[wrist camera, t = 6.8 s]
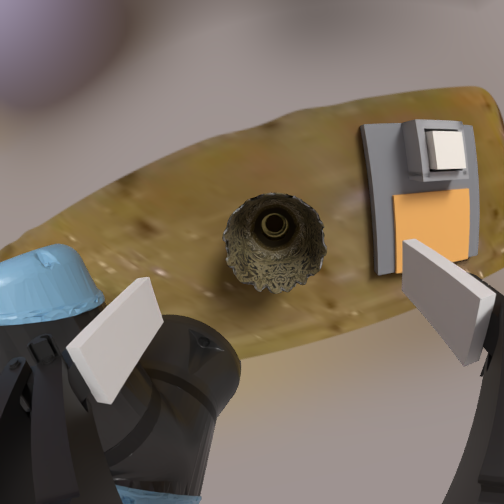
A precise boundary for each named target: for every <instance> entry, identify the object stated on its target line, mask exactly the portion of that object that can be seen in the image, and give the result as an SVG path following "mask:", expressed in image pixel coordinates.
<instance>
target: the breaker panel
mask: <svg viewBox="0 0 504 504" xmlns="http://www.w3.org/2000/svg"><path fill="white" fill-rule="evenodd" d="M360 129H361V134H362V140H363V146H364V153H365V159H366V167H367V174H368V183H369V192H370V201H371V213H372V226H373V243H374V271H375V272H376V273H377V275H383V274H388V273H394V272H396V273H402V241H403V240H409V239H417V240H418V241H420V242H421V243H423V244H425V245H426V246H428V247H429V248H431V249H433V250H434V251H436V252H437V253H439V254H440V255H442V256H443V257H445V258H446V259H448V260H449V261H451V262H456V261H460V260H464V259H468V257H471V256H475V255H478V240H479V182H478V167H477V157H476V148H475V140H474V133H473V127H472V126H470V125H463V124H462V122H460V121H444V120H412V121H408V122H404V123H387V124H364V125H361V126H360ZM428 131H455V132H462V137H463V145H464V153H465V162H466V168H460V169H429V160H428V152H427V145H426V138H425V132H428Z"/></svg>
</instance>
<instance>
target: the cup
mask: <svg viewBox="0 0 504 504" xmlns="http://www.w3.org/2000/svg"><path fill="white" fill-rule="evenodd" d="M273 215H277V216H279V217H280V218H281V219H282V221H283V227H282V228H281V229H280V230H279V231H277V232H272V231H270V230H269V229H268V228H267V226H266V221H267V219H268V218H269V217H270V216H273ZM323 228H324V225H323V223H322V221H321V220H320V218H319V215H318V213H317V212H316V211H315V210H314V209H313V208H312V207H311V206H309V205H308V204H306V203H305V202H303V201H302V200H301V199H300V198H298V197H295V196H290V195H288V194H283V193H266V194H262V195H259V196H257V197H254V198H251V199H248V200H247V201H245V203H244V204H243V205H241V206H240V207H239V208H238V209H236V210H235V211H234V212H233V213H232V215H231V216H230V218H229V220H228V223H227V227H226V229H225V231H224V233H223V237H222V239H223V241H225V242H226V250H227V254H228V255H227V258H226V262H227V265H228V266H229V267H230V268H232V269H233V272H234V274H235V276H236V278H237V279H238V280H239V281H240V282H241V283H243V284H252V285H254V288H255V289H256V290H257V291H258V292H261V291H262V290H263V289H264V288H265V287H267V288H268V290H269V291H270V292H271V293H274V294H278V293H281V291H285V292H289V291H290V290H291V289H292V288H293V287H295V286H296V283H298V284H300V285H305V284H306V282H307V278H308V277H309V276H311V275H313V276H314V275H315V274H316V273H317V272H319V271H320V269H321V267H322V262H323V258H324V256H326V253H327V246H326V245H325V243H324V233H323Z"/></svg>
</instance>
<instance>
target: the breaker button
mask: <svg viewBox="0 0 504 504" xmlns="http://www.w3.org/2000/svg"><path fill="white" fill-rule="evenodd" d="M425 138H426V145H427V152H428V160H429V169H460V168H466V162H465V153H464V145H463V137H462V132H455V131H428V132H425Z"/></svg>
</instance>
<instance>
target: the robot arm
mask: <svg viewBox="0 0 504 504" xmlns="http://www.w3.org/2000/svg"><path fill="white" fill-rule="evenodd" d="M402 291H403V292H404V293H405V295H406V296H407V297H408V298H409V299H410V300H411V301H412V303H413V304H414V305H415V306H416V307H417V308H418V310H419V311H420V312H421V313H422V314H423V316H424V317H425V318H426V319H427V320H428V322H429V323H430V324H431V325H432V326H433V328H434V329H435V330H436V331H437V332H438V334H439V335H440V336H441V337H442V339H443V340H444V341H445V343H446V344H447V345H448V346H449V348H450V349H451V350H452V352H453V353H454V354H455V355H456V357H457V358H458V360H459V361H460V362H461V364H462V365H463V366H467V365H469V364H472V363H474V362H477V361H479V359H480V355H481V352H482V349H483V347H484V348H485V349H486V351H487V352H488V355H487V358H486V361H485V364H484V367H483V370H482V372H481V375H480V376H483V380H482V386H481V391H480V396H479V400H478V405H477V409H476V413H475V417H474V421H473V425H472V428H471V431H470V434H469V438H468V441H467V444H466V447H465V450H464V453H463V456H462V459H461V461H460V464H459V466H458V469H457V472H456V474H455V476H454V479H453V481H452V483H451V486H450V488H449V490H448V493H447V494H446V497H445V499H444V501H443V503H442V504H504V296H503V295H502V294H501V293H499V292H498V291H497V290H495V289H494V288H493V287H491V286H490V285H488V284H487V283H486V282H484V281H482V279H480V278H479V277H477V276H476V275H474V274H471V273H468V272H466V271H464V270H463V269H461V268H460V267H458V266H457V265H455V264H454V263H452V262H451V261H449V260H448V259H446V258H445V257H443V256H442V255H440V254H439V253H437V252H436V251H434V250H433V249H431V248H429V247H428V246H426V245H425V244H423V243H421V242H420V241H418V240H417V239H409V240H403V241H402ZM104 301H105V299H104V296H103V293H102V292H101V291H100V290H99V289H97V287H96V285H95V283H94V281H93V280H92V278H91V276H90V274H89V272H88V270H87V268H86V266H85V264H84V262H83V260H82V258H81V257H80V255H79V254H78V253H77V251H75V250H74V249H73V248H71V247H69V246H67V245H64V244H54V245H50V246H46V247H42V248H39V249H36V250H33V251H30V252H27V253H24V254H22V255H19V256H16V257H13V258H11V259H8V260H5V261H3V262H0V504H199V502H200V501H201V496H200V494H201V489H202V484H203V480H204V475H205V470H206V466H207V460H208V456H209V452H210V447H211V442H212V438H213V433H214V428H215V424H216V420H217V417H218V416H219V414H220V413H221V411H222V410H223V409H224V408H225V406H226V405H227V403H228V402H229V400H230V399H231V398H232V397H233V395H234V394H235V392H236V390H237V387H238V385H239V380H240V375H241V360H239V358H238V356H237V354H236V352H235V350H234V349H233V347H232V346H231V344H230V343H229V342H228V341H227V340H226V339H225V338H224V337H223V336H222V335H221V334H220V333H219V332H217V331H216V330H214V329H213V328H211V327H210V326H208V325H206V324H204V323H202V322H200V321H198V320H195V319H192V318H189V317H185V316H179V315H161V312H160V310H159V307H158V304H157V300H156V297H155V294H154V291H153V288H152V285H151V281H150V278H149V277H144V278H137V279H136V280H135V281H134V282H133V283H132V284H131V285H129V286H128V287H127V288H126V289H125V290H124V291H123V292H122V293H121V294H120V295H119V296H118V297H117V298H115V299H114V300H113V301H112V302H111V303H110V304H109V305H108V306H107V305H106V303H105V302H104Z"/></svg>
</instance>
